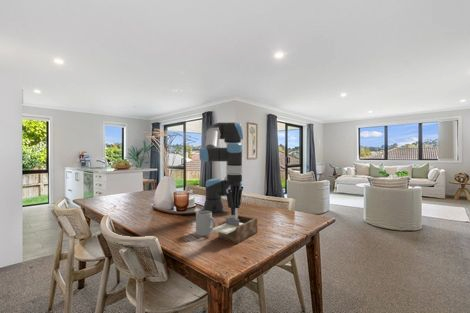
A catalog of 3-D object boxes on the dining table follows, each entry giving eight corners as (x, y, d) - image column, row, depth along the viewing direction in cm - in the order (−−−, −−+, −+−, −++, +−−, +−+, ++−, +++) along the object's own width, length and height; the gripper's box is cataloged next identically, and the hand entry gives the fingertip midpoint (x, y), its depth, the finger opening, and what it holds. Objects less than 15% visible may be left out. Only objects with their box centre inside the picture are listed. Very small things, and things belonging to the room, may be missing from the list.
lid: (231, 222, 120) (231, 214, 120) (245, 225, 115) (245, 217, 115) (212, 230, 107) (212, 221, 107) (226, 234, 102) (226, 225, 102)
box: (238, 228, 129) (238, 215, 129) (257, 232, 122) (257, 218, 122) (218, 238, 114) (218, 223, 114) (238, 243, 107) (238, 227, 107)
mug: (192, 233, 120) (192, 212, 120) (203, 229, 127) (203, 209, 127) (209, 238, 113) (209, 216, 113) (220, 233, 120) (220, 213, 120)
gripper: (235, 172, 122) (235, 216, 122) (220, 174, 111) (220, 222, 111) (247, 173, 117) (247, 219, 118) (233, 175, 107) (233, 225, 107)
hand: (234, 221), depth 115 cm, fingers closed
